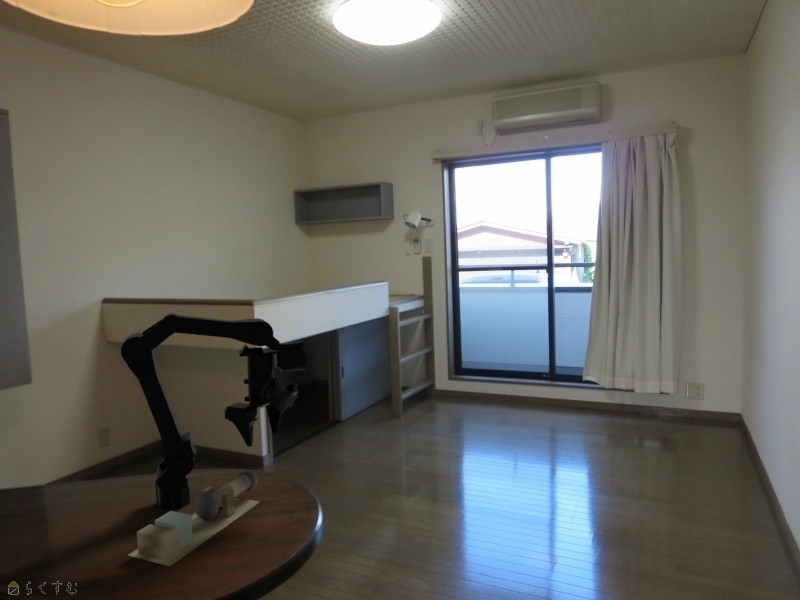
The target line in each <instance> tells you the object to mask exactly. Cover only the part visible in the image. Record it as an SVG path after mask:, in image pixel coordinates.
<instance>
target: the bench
mask: <svg viewBox="0 0 800 600" xmlns="http://www.w3.org/2000/svg"><path fill="white" fill-rule="evenodd" d="M201 491H202V492H201V494H203V493H209V494H212V493H214V492H215V490H214V487H213V486H207V487H205V488H204V489H202V490H201ZM222 501H223V505H222V506H221V507H219V508H218V512H217V514H216V515H215V516H214V517H213V518H211V519H210V520H203V519H201V518H200V517H199V516H198V515H197V514H196V512H194V513H193V514H190V515H191V519H192V539H193V540H192V541H191V542H189V543H188V544H186V545H185V546H183V547H182V548H180V539H179V531H178V530H174V529H170V528H165V527H161V526H156V525H155V524H152V523H151V524H150V523H149V524H148V525H146V526H145V527H143V528H141V529H139V530H138V531H136V536H137V537H136V539H137V542H136V543H137V549H135V550H134V551H132V552H130V553H129V554H127V556H128V557H131V558H136V559H140V560H144V561H148V562H152V563H156V564H160V565H163V566H167V567H171V566H173V564H175V563H176V562H178V561H180V560H182V558H184V557H186V555H188V554H190V553H191V552H192V551H194V550H195V549H197V548H198V547H199V546H201V545H202V544H204V543H205V542H206V541H208V540H209V539H210V538H212V537H213V536H215V535H216V534H218V533H219V532H220V531H222V530H223V529H225V528H226V527H228V526H229V525H230V524H232V523H233V522H234V521H236V520H237V519H239V518H240V517H241V516H243V515H244V514H246V513H247V512H248V511H251V509H253V508H255V506H257V505H259V503H261V501H260V500H259V501H258V500H253V499H248V498H242V497H238V496H236V497H233V491H231V490H228V491H226V492H225V493H223V494H222Z"/></svg>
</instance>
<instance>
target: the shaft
mask: <svg viewBox="0 0 800 600" xmlns="http://www.w3.org/2000/svg"><path fill="white" fill-rule="evenodd" d="M257 485H258V476H257V474H256V473H255V472H254V471H253V470H251V469H245V470H244V471H242V472H240V473H238V476H237V478H235V479H233V480H232V481H231V482H229V483H227V484H225V485H223V486H222V487H221V488H219V489H218V490H215V491H214V493H212V494H209V493H203V494H202V493H201V494H200V495H197V496H196V498H195V499H194V501H193V508H194V513H196V514H197V515H198V516H199V517H200V518H201V519H203V520H210V519H211V518H213V517H214V516H215V515H216V514H217V512H218V508H219V507H221V506H222V505H223V501H222V494H223V493H225V492H226V491H228V490H231V491H233V497H238V496H239V495H241V494H242V493H243V492H249V491H252V490H253V489H255V488H256V487H257Z"/></svg>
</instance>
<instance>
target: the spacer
mask: <svg viewBox="0 0 800 600" xmlns="http://www.w3.org/2000/svg"><path fill="white" fill-rule="evenodd" d="M191 515H192V514H188V513H183V512H178V511H173V510H169V511H168V512H167V513H165V514H163V515H161V516H160V517H158V518H156V519H154V525H156V526H161V527H165V528H170V529H174V530H178V531H179V539H180V548H182V547H183V546H185V545H186V544H188V543H189V542H191V541H192V540H193V539H192V519H191Z"/></svg>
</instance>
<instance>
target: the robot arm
mask: <svg viewBox="0 0 800 600" xmlns="http://www.w3.org/2000/svg"><path fill="white" fill-rule="evenodd" d="M174 334H184V335H194V336H195V335H196V336H206V337H214V338H215V337H216V338H226V339H227V338H228V339H232V340H235V341H238V342H242V343H244V345H243V346H242V348H241V349H240V350H239V351H237V354H238V356H239V357H240V358H242V357H246V366H247V367H246V368H247V369H246V370H247V377H246V378H244V379H243V384H245V385H247V390H248V391H247V395H246V396H244V397H243V399H244V402H247V403H243V402H236V403H233V404H230V405H228V406H227V407H226V408H224V411H223V412H224V420H228V422H231V423H233V425H234V426H235V428H236V429H237V431H238V432H239V434H240V436H241V438H242V439H243V441H244V443H245V445H246V447H249V448H250V447H253V441H254V425H255V423H256V422H257V421H258V419H259V418H258V417H257V415H258V410H259V409H262V408H264V407H265V409H266V412H267V417H268V421H269V422H268V423H269V426H270V427H269V428H270V430H271V433H272V434H273V435H277V434H278V432H279V428H280V424H281V422H282V418H283V416H284V411H286V410H287V409H289V408H292V407H294V403H295V401H296V400H298V399H299V397H300V396H299V386H298V384H296V383H295V382H291V383H289V384H287V385H286V384H284V385H281V384H279V378H278V376H274V366H275V369H279V371H280V372H281V373H282V372H294V371H305V370H307V369H306V368H307V365H308V364H307V361H308V360H307V356H306V351H305V347H304V342H303V341H301V340H298V341H297V340H296V341H293V342H282V343H280V340H278V338H276V337H275V336H274V329H273V327H272V325H271V324H270V323H268V321H266V320H264V319H262V318H257V317H256V318H242V319H237V320H236V319H235V320H233V319H231V320H227V319H219V318H209V317H201V316H200V317H199V316H192V315H185V314H184V315H182V314H177V313H174V312H170V313H167V314H165V316H163V317H162V319H160V320H158V321H157V322H155V323H153V324H152V325H151V326H149V327H148V328H146V329H144V330H143V331H142V332H136V333H131V334H130V335H128V336H127V337H126V338H125V339H124V341H123V343H122V345H121V347H120V355H121V357H122V359H123V361H124V362H125V363H126V365H127V367H128V368H129V370H130V371H131V372H132V374H133V375H134V376H135V377H136V379H137V380H138V382H139V385H140V388H141V389H142V392H143V395H144V397H145V399H146V403H147V405H148V407H149V410H150V413H151V415H152V417H153V420H154V424H155V426H156V428H157V430H158V432H159V435H160V437H161V442H162V451H163V457H164V458H163V460H162V461H161V462H160V463H159V464H158V465H157V468H156V478H155V484H154V485H155V496H156V498H155V500H156V505H158V507H159V509H161V510H162V509H163V510H173V509H183V508H185V507H187V506H188V505H190V504H191V497H190V496H191V493H190V491H191V490H190V486H189V481H188V480H189V479H188V478H186V477H187V475H189V474H190V473H191V472H192V471H193V470H194V468H195V458H196V457H197V447H196V445H195V444H194V443H193V441H192V435H191V432H190V431H187V432H186V433H185V434H184V432H182V430H181V429H180V428H179V425H178V423H177V420H176V418H175V414H174V413H173V410H172V408H171V405H170V402H169V400H168V397H167V394H166V391H165V388H164V387H163V384H162V382H161V379H160V375H159V373H158V370H157V363H156V356H155V351H154V349H156V348H157V347H159V345H161V344H162V343H163V342H165V341H166V340H168V338H170V337H171V336H173V335H174ZM247 344H249V345H252V346H256V347H249V346H248V345H247ZM263 347H267V348H268V349H263ZM273 357H274V358H273ZM273 359H274V360H273ZM248 402H249V403H248Z"/></svg>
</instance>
